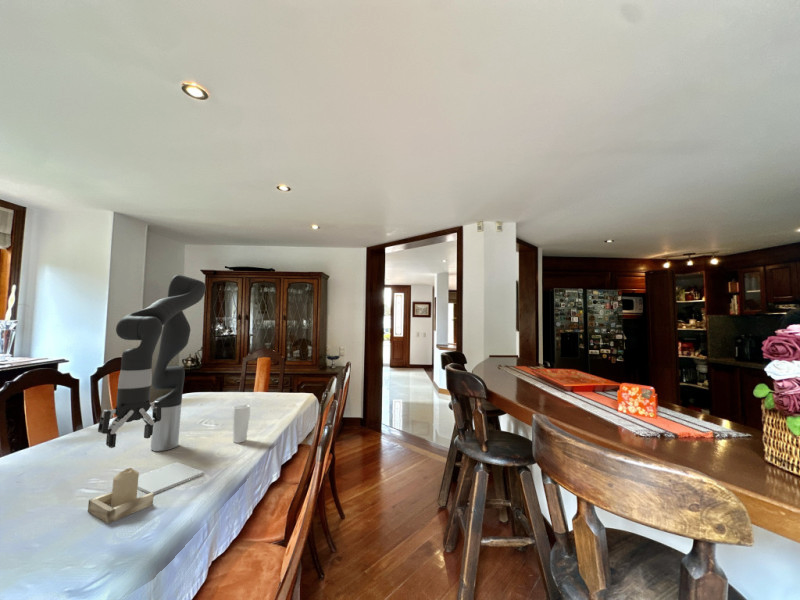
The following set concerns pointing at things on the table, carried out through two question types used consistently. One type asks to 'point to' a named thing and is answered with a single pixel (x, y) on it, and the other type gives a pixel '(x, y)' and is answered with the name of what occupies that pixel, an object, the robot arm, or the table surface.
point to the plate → (166, 477)
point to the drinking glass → (240, 423)
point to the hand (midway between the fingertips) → (129, 442)
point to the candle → (124, 487)
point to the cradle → (110, 514)
